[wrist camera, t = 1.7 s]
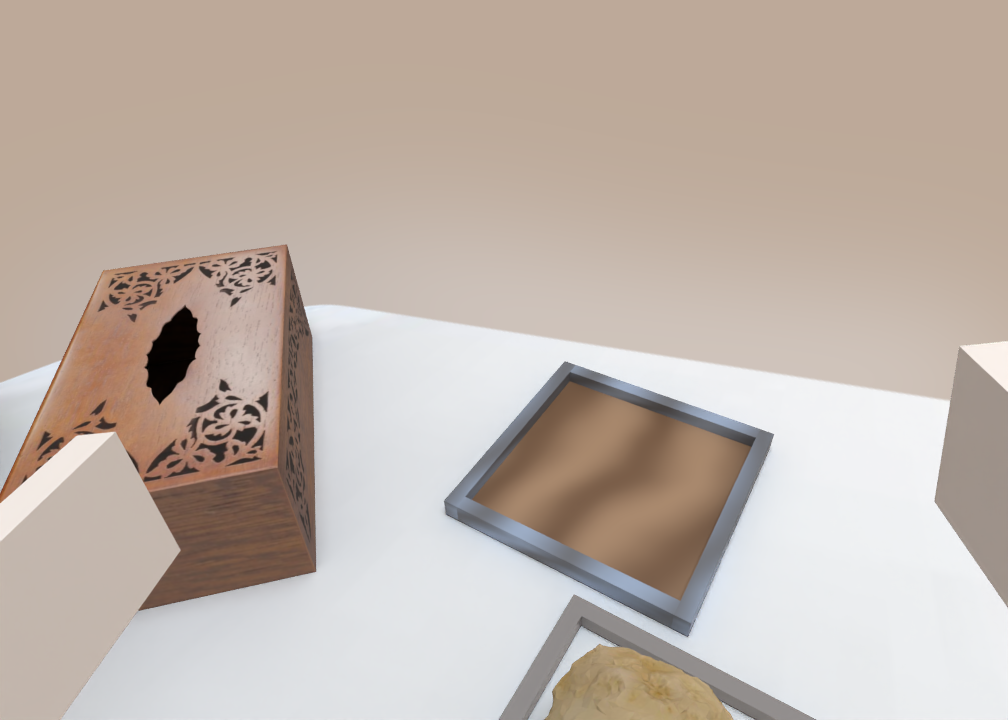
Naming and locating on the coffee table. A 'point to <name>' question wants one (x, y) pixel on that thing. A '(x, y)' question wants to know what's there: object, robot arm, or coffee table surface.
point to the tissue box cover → (199, 411)
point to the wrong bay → (767, 710)
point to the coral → (631, 690)
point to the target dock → (617, 490)
